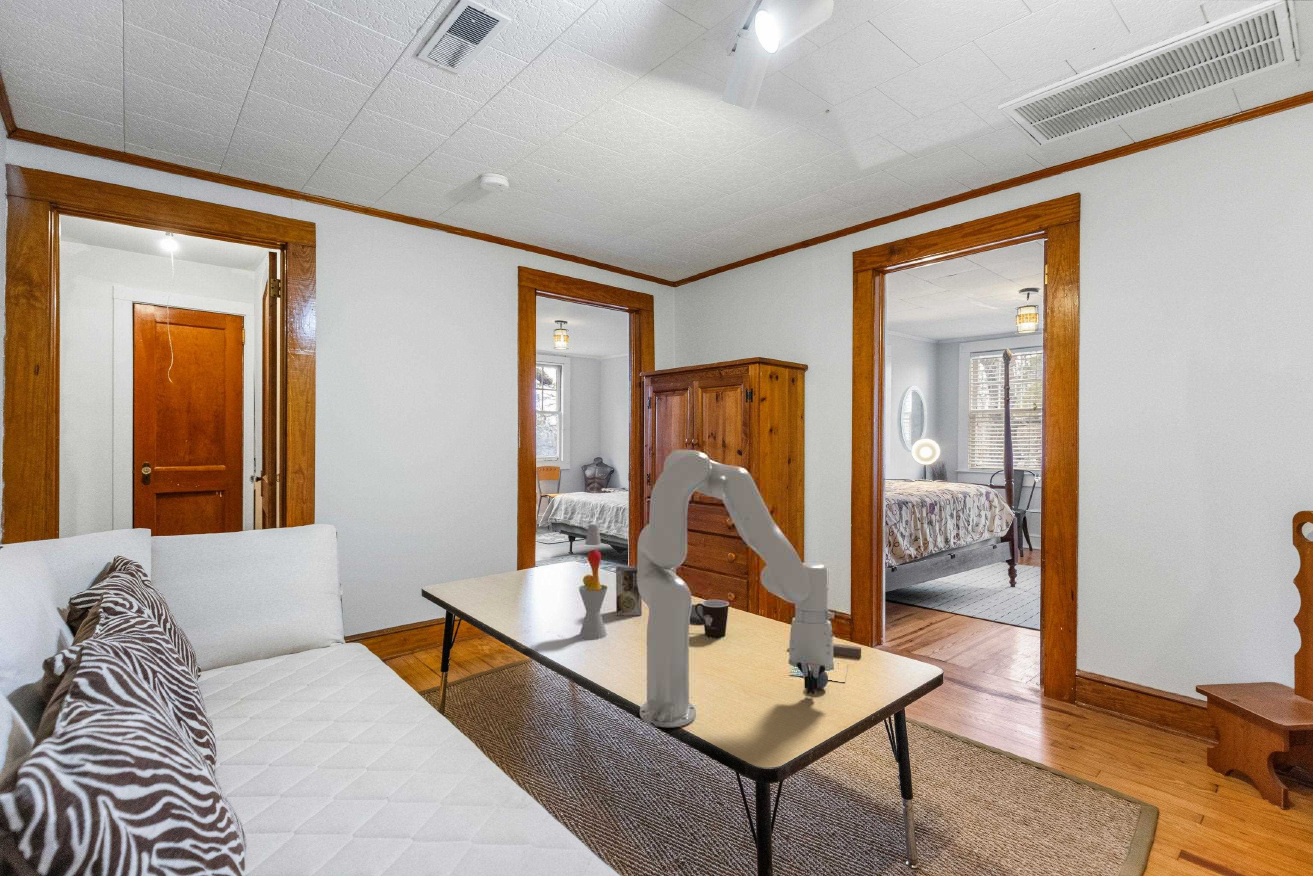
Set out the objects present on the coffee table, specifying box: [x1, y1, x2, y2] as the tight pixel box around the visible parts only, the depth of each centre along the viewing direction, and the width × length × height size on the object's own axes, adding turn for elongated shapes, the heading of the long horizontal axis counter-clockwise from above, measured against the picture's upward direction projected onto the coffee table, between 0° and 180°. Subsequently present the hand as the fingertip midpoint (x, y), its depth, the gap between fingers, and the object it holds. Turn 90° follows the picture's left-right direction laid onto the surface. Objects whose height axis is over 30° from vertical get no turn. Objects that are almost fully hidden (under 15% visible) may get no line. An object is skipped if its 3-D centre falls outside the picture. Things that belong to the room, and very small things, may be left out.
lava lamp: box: [578, 523, 608, 640], centre depth 193 cm, size 9×9×35 cm
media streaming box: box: [690, 604, 704, 625], centre depth 213 cm, size 15×15×3 cm
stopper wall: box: [789, 640, 862, 658], centre depth 177 cm, size 2×20×2 cm, turn 69°
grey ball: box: [810, 668, 829, 690], centre depth 152 cm, size 5×5×5 cm
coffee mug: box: [695, 599, 730, 639], centre depth 195 cm, size 12×9×10 cm
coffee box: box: [615, 565, 643, 616], centre depth 217 cm, size 9×6×16 cm
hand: (811, 691), depth 147 cm, fingers closed
